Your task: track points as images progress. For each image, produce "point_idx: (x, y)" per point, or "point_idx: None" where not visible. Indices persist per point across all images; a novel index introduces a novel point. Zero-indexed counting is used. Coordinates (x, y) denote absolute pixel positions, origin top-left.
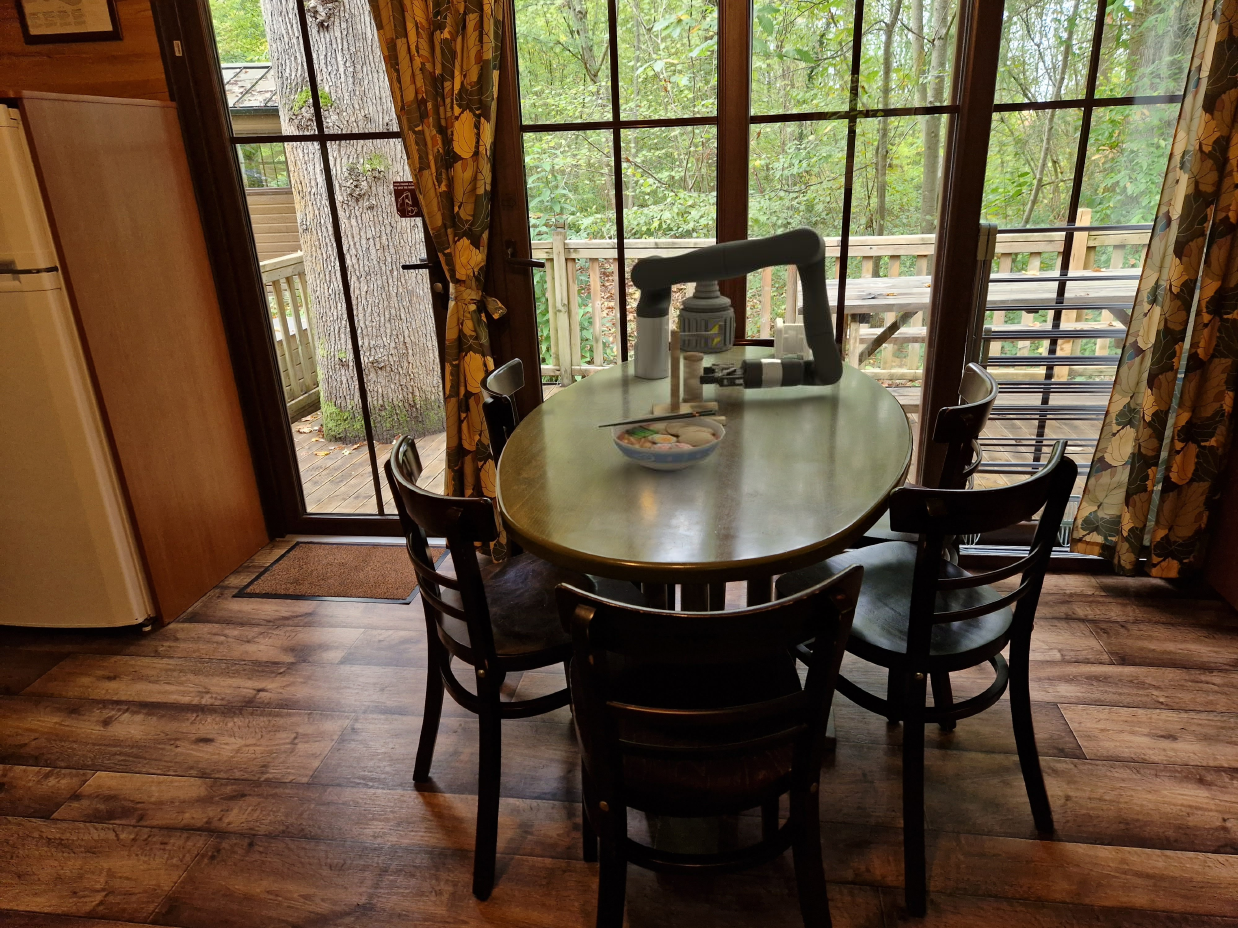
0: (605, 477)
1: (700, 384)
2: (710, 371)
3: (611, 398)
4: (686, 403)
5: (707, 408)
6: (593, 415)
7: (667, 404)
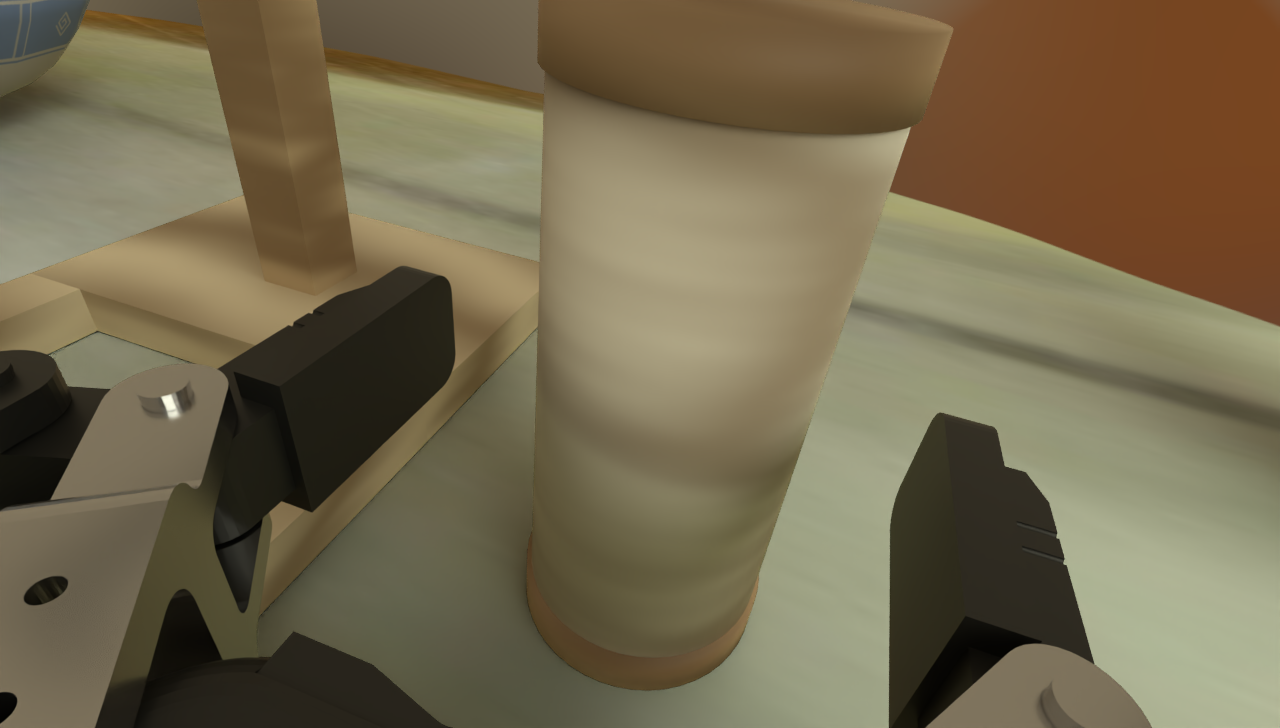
0: None
1: (542, 451)
2: (940, 703)
3: (870, 276)
4: None
5: None
6: None
7: (495, 306)
